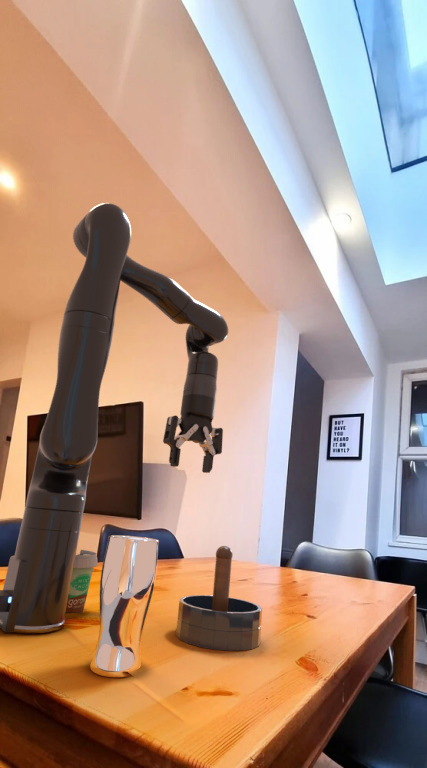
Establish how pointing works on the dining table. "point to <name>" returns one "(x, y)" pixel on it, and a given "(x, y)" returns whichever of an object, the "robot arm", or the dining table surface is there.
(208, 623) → the bowl
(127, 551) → the beer glass
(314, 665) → the dining table surface
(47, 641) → the dining table surface
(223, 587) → the rod
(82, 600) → the food container
